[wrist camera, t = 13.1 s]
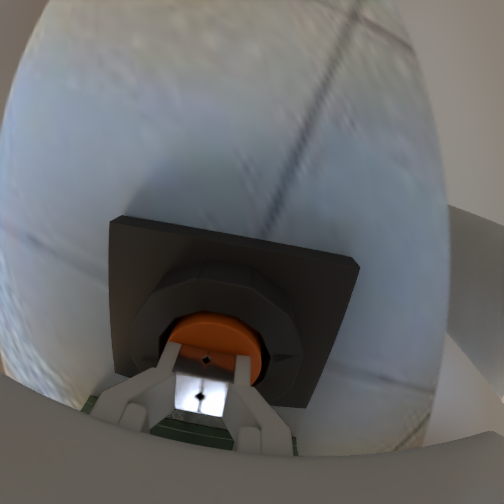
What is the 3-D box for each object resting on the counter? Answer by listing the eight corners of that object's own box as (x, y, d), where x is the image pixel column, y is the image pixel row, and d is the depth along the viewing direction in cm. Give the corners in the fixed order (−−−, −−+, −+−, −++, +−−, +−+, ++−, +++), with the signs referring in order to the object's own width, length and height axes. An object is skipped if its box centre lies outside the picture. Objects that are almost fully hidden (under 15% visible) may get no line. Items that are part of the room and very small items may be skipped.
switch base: (352, 256, 12) (376, 286, 9) (303, 393, 15) (309, 434, 12) (121, 214, 12) (86, 233, 9) (122, 359, 14) (101, 395, 12)
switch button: (269, 307, 11) (271, 333, 10) (252, 375, 13) (251, 403, 11) (178, 291, 11) (165, 313, 10) (173, 360, 12) (163, 386, 11)
